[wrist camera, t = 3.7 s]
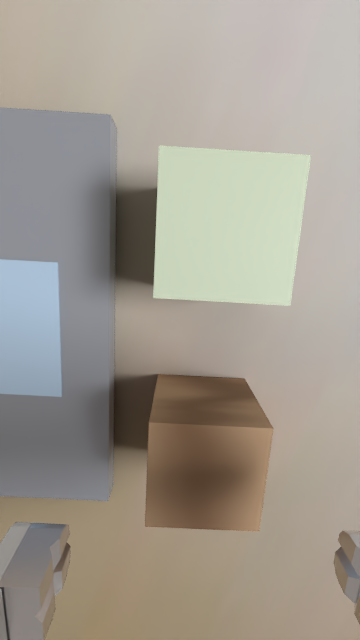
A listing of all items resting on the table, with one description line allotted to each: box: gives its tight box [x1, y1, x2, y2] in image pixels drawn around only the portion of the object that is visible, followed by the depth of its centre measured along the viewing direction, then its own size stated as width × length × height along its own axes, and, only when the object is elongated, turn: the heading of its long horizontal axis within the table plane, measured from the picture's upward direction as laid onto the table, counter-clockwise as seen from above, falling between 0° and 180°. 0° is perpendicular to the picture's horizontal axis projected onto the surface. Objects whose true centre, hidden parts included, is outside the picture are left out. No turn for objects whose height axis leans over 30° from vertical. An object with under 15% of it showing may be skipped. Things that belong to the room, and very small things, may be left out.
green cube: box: [153, 146, 311, 306], centre depth 12 cm, size 5×5×5 cm
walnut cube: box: [145, 374, 273, 531], centre depth 14 cm, size 5×5×5 cm
